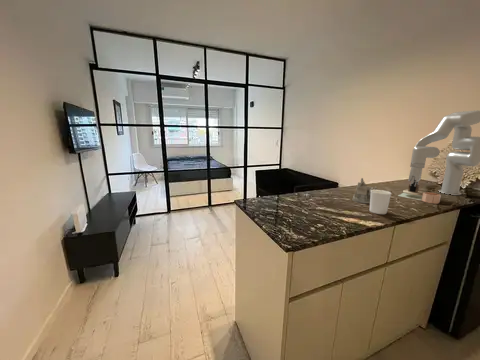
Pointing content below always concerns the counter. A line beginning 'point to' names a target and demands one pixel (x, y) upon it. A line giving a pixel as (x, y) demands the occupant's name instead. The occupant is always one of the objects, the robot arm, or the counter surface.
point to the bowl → (431, 197)
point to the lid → (413, 192)
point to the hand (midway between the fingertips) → (413, 190)
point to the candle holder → (379, 201)
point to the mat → (411, 196)
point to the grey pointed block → (363, 192)
